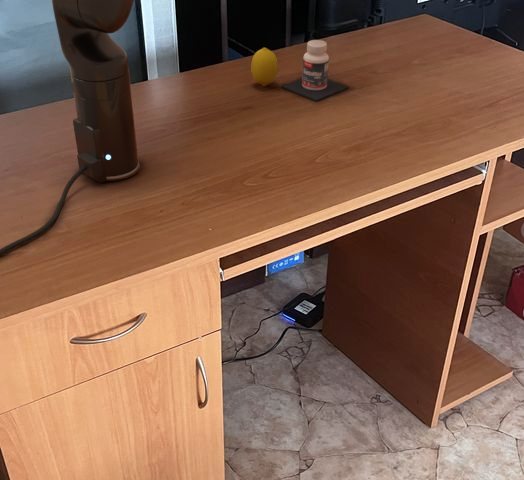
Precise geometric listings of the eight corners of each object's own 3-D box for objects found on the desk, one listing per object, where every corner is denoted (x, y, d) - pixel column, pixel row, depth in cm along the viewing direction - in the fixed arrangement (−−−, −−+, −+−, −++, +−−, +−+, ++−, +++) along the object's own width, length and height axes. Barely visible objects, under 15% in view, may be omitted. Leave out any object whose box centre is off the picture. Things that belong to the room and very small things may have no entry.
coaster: (316, 101, 159) (316, 99, 159) (281, 87, 164) (281, 85, 164) (348, 88, 164) (348, 86, 164) (313, 75, 170) (313, 73, 170)
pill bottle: (298, 88, 163) (300, 45, 157) (306, 79, 167) (308, 37, 161) (323, 92, 162) (325, 49, 156) (330, 83, 165) (332, 40, 160)
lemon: (267, 93, 162) (267, 54, 157) (245, 87, 165) (245, 48, 159) (282, 85, 165) (283, 46, 160) (261, 79, 168) (262, 41, 163)
